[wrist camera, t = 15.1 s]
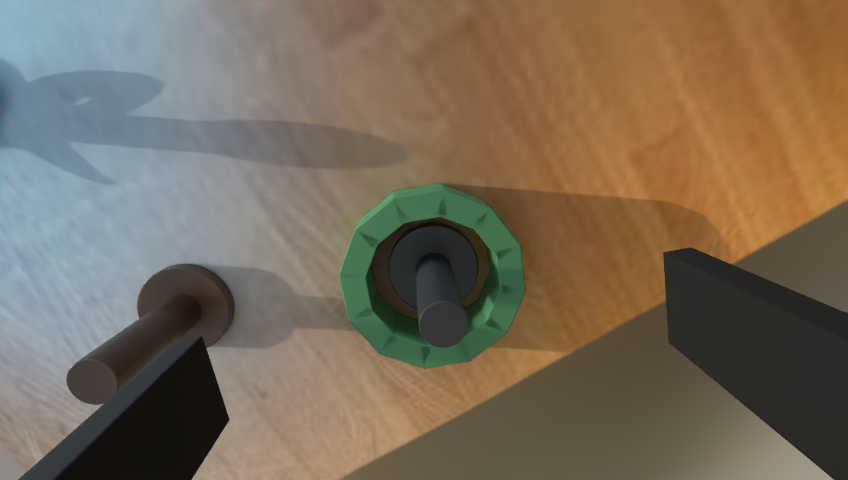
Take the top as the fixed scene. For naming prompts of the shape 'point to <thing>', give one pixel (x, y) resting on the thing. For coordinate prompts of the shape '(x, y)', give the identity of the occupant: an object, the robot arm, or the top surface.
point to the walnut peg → (155, 329)
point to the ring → (402, 333)
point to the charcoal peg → (435, 279)
